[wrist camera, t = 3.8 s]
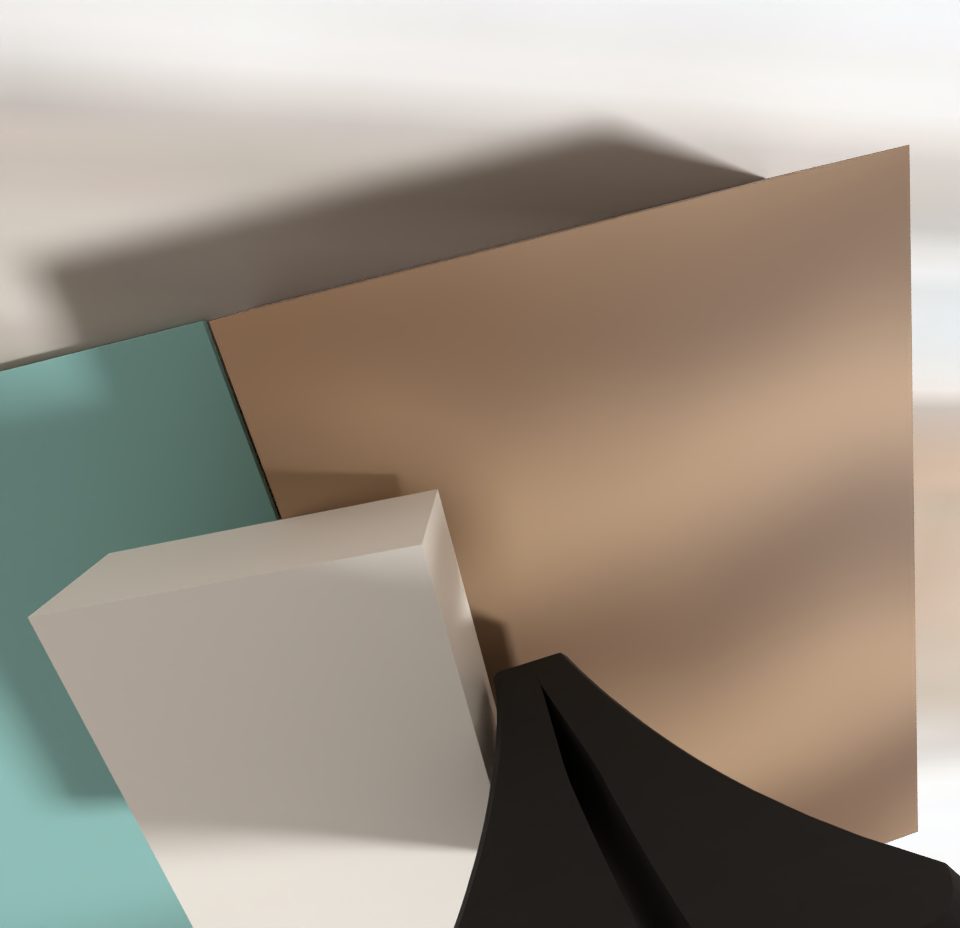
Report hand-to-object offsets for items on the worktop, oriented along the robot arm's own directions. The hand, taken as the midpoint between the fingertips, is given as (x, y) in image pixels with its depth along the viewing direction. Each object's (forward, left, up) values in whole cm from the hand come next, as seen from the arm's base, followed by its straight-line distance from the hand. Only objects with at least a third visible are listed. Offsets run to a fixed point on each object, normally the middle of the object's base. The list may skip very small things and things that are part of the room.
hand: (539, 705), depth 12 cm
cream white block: (0, +4, -1) cm, 4 cm away
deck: (0, -3, -5) cm, 6 cm away
